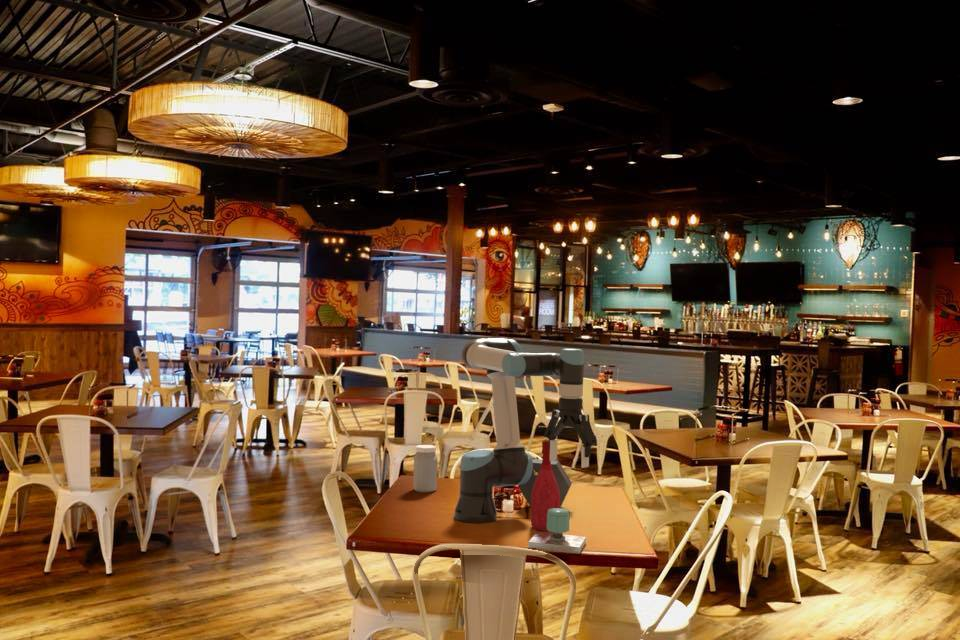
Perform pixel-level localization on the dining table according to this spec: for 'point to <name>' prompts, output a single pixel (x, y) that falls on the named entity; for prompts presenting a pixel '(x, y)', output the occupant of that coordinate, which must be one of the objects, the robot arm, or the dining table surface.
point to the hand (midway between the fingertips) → (568, 463)
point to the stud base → (557, 542)
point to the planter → (558, 473)
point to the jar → (425, 469)
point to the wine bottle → (544, 492)
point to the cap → (558, 520)
